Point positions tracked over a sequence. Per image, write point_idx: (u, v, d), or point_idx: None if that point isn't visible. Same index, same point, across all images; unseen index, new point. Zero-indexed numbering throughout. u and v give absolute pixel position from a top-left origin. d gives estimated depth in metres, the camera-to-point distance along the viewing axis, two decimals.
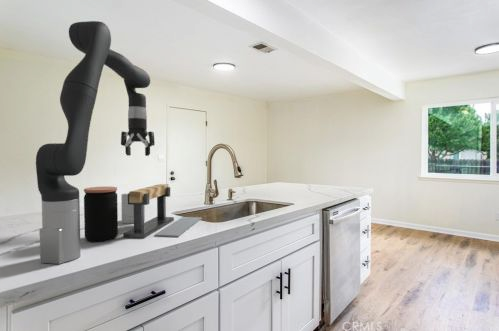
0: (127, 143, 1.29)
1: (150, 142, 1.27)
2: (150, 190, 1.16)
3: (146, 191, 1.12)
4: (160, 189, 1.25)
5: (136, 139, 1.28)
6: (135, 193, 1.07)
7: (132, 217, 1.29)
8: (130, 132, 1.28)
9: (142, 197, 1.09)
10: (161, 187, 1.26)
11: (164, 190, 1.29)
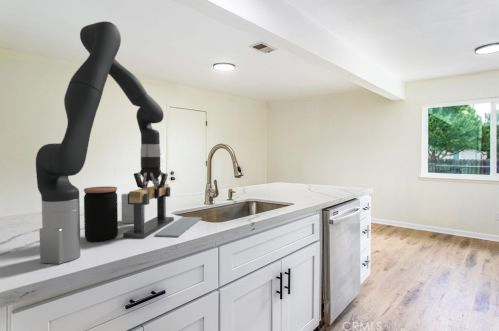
0: (143, 185, 1.19)
1: (160, 184, 1.18)
2: (150, 190, 1.16)
3: (146, 191, 1.12)
4: (160, 189, 1.25)
5: (149, 178, 1.19)
6: (135, 193, 1.07)
7: (132, 217, 1.29)
8: (143, 171, 1.19)
9: (142, 197, 1.09)
10: None
11: (164, 190, 1.29)
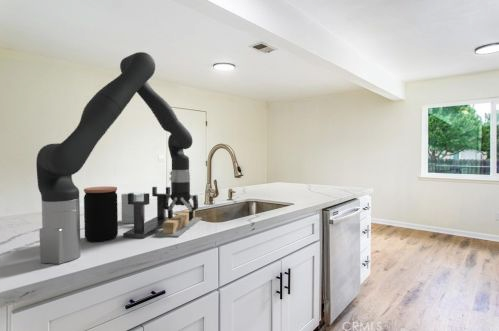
0: (170, 207, 1.23)
1: (194, 207, 1.21)
2: (181, 219, 1.19)
3: (178, 221, 1.15)
4: (188, 216, 1.28)
5: (179, 203, 1.22)
6: (168, 224, 1.10)
7: (132, 217, 1.29)
8: (173, 195, 1.22)
9: (175, 227, 1.12)
10: None
11: None
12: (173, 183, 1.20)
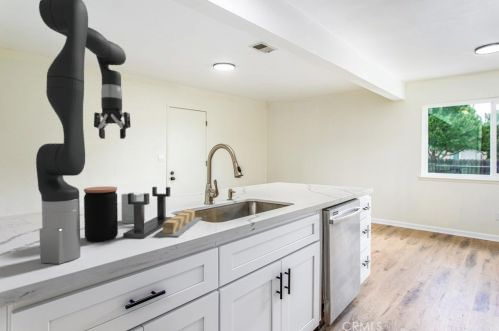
0: (100, 125, 1.18)
1: (125, 124, 1.17)
2: (181, 219, 1.19)
3: (178, 221, 1.15)
4: (188, 216, 1.28)
5: (110, 120, 1.18)
6: (168, 224, 1.10)
7: (132, 217, 1.29)
8: (104, 113, 1.18)
9: (175, 227, 1.12)
10: (189, 214, 1.29)
11: (192, 216, 1.32)
12: (102, 98, 1.16)
